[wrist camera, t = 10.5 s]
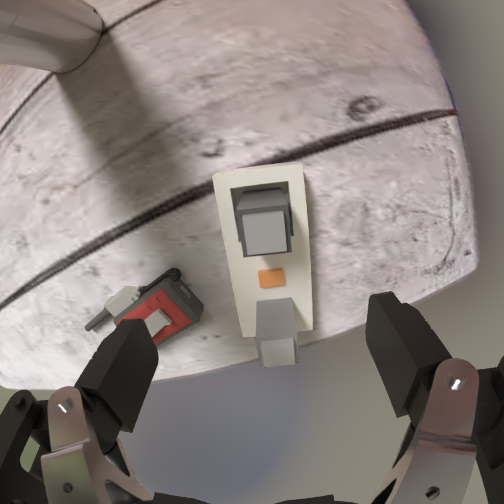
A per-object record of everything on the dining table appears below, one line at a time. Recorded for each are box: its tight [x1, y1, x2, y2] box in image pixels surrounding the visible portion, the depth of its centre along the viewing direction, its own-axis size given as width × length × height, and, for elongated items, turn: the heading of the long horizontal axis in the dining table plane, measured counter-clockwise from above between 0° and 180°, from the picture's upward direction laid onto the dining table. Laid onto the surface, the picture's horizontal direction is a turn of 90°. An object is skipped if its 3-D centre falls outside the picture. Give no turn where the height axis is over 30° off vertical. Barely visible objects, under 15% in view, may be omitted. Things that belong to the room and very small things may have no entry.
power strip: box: [212, 162, 313, 368], centre depth 25 cm, size 18×8×10 cm, turn 8°
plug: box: [236, 187, 292, 258], centre depth 23 cm, size 4×4×9 cm
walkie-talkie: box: [85, 268, 203, 346], centre depth 32 cm, size 9×4×20 cm
